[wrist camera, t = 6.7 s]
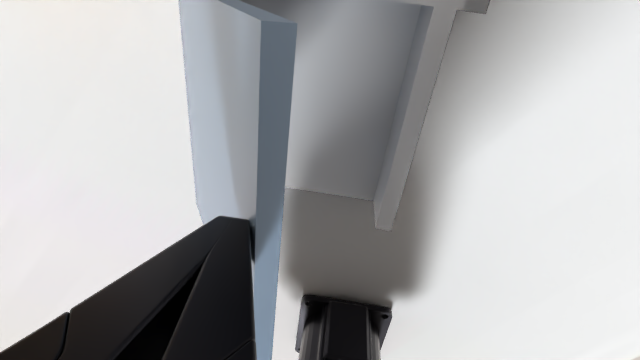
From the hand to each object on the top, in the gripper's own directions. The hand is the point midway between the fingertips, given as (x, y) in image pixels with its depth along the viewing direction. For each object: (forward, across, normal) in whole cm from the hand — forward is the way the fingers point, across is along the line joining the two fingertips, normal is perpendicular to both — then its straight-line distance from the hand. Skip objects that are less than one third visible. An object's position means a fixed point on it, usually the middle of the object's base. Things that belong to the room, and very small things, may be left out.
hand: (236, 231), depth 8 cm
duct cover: (+3, +1, 0) cm, 4 cm away
